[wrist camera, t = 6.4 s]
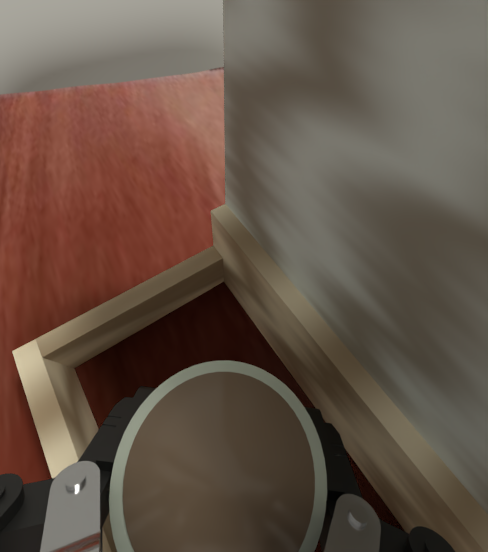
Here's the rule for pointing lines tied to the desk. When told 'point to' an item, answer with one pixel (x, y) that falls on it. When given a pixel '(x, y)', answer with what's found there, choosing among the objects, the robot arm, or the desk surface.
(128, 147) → the desk surface
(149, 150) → the desk surface
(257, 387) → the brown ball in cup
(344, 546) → the robot arm
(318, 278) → the cold frame
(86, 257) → the desk surface
